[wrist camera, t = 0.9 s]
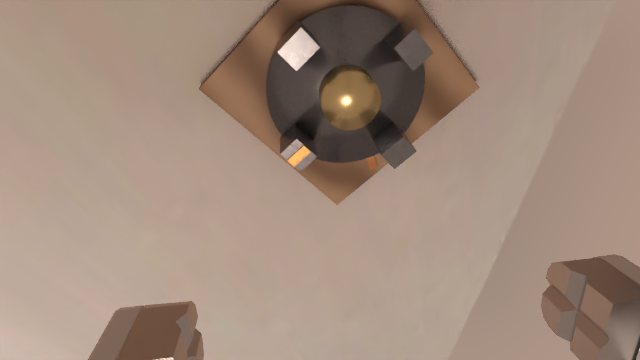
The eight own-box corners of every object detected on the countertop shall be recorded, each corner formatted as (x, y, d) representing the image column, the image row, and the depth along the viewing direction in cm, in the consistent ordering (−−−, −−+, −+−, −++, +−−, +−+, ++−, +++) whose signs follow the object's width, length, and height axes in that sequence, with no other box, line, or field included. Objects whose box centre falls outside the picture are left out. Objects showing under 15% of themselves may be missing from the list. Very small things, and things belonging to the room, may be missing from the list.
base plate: (351, -82, 36) (355, -84, 34) (473, 83, 45) (480, 88, 44) (201, 84, 42) (198, 89, 41) (335, 198, 52) (337, 206, 50)
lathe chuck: (352, -41, 36) (364, -39, 31) (453, 88, 44) (474, 105, 39) (229, 89, 41) (224, 108, 36) (338, 184, 49) (345, 210, 44)
